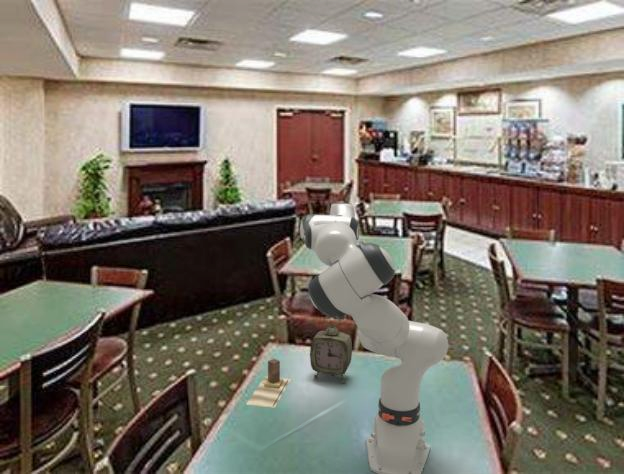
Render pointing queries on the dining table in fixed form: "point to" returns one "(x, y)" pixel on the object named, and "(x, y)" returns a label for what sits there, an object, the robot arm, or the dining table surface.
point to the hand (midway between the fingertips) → (340, 290)
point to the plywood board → (267, 394)
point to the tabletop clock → (331, 351)
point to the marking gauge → (273, 374)
